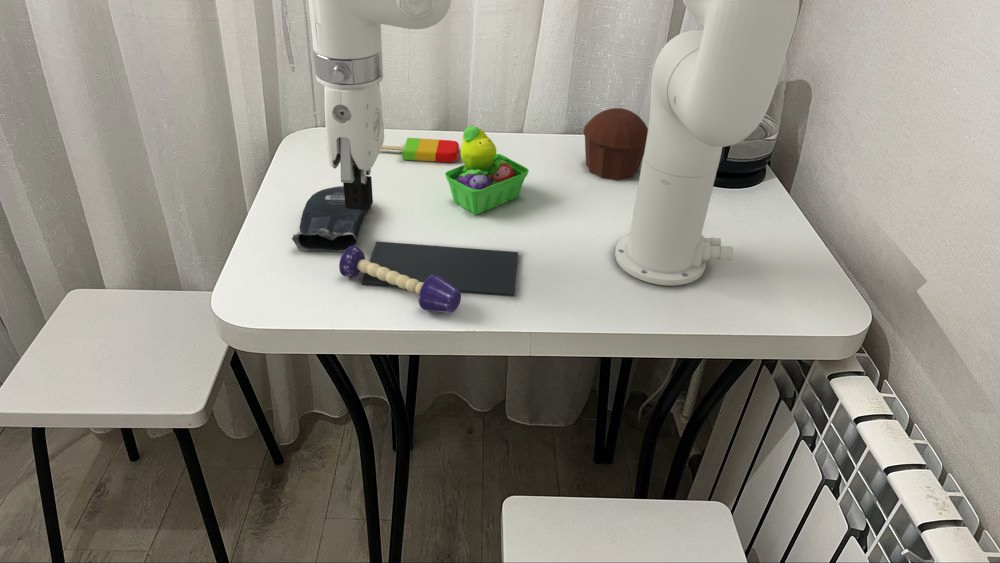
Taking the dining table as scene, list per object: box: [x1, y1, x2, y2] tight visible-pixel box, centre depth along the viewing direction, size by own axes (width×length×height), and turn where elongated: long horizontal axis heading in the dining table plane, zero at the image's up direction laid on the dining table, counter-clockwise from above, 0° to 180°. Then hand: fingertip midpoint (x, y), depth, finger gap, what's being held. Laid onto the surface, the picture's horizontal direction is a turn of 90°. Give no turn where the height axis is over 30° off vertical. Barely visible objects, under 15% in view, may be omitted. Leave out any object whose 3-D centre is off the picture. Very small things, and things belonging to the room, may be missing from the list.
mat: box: [360, 241, 519, 297], centre depth 101 cm, size 20×10×1 cm, turn 87°
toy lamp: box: [338, 245, 462, 314], centre depth 94 cm, size 5×5×17 cm
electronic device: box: [291, 185, 370, 253], centre depth 108 cm, size 9×6×15 cm
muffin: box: [582, 107, 648, 181], centre depth 125 cm, size 12×11×10 cm
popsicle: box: [381, 137, 460, 163], centre depth 128 cm, size 6×15×2 cm, turn 88°
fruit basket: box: [444, 125, 530, 216], centre depth 114 cm, size 11×9×11 cm
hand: (359, 206), depth 95 cm, fingers closed
